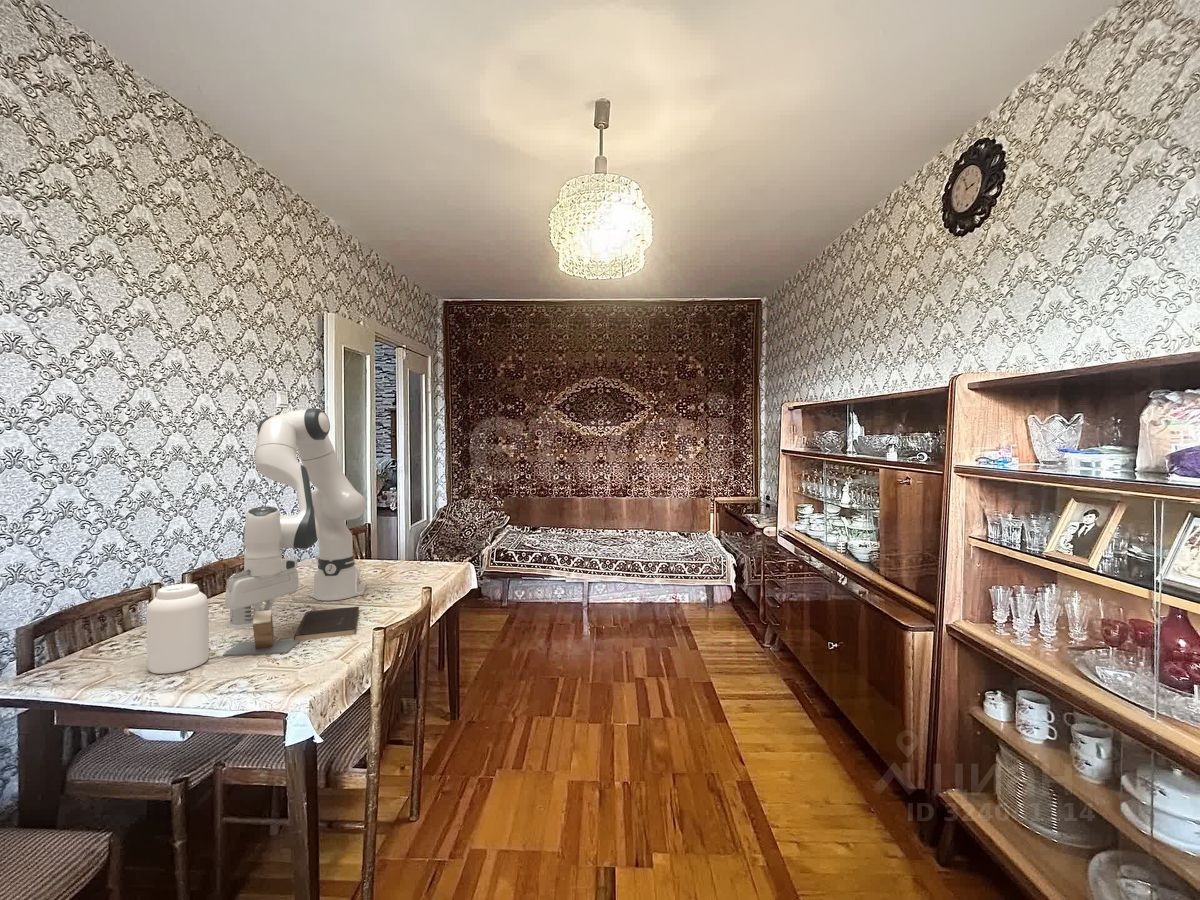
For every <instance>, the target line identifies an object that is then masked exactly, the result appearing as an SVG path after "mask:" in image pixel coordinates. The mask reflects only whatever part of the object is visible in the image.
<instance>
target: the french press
mask: <svg viewBox="0 0 1200 900" xmlns="http://www.w3.org/2000/svg"><path fill="white" fill-rule="evenodd" d="M240 548H243V557H244V556H245V552H246V545H245V544H244V542H242V543H241V545H240ZM229 611H230V612H229V615H230V619H229V622H228V623H226V628H229V629H244V628H250V627H253V618H254V612H256V611H255V609H254V608H253V606H252V605H250V606H247V607H244V608H241V609H237V610H232V609H229Z"/></svg>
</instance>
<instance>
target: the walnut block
mask: <svg viewBox="0 0 1200 900" xmlns="http://www.w3.org/2000/svg"><path fill="white" fill-rule="evenodd" d="M253 615H254V618H253V626H252V627H253V637H254V638H253V640H254V642H255V648H256V649H260V648H267V647H273V641H274V636H275V635H274V634H275V633H274V625H273V612H272V609H271V610H266V611H257V612H254V613H253Z"/></svg>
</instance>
